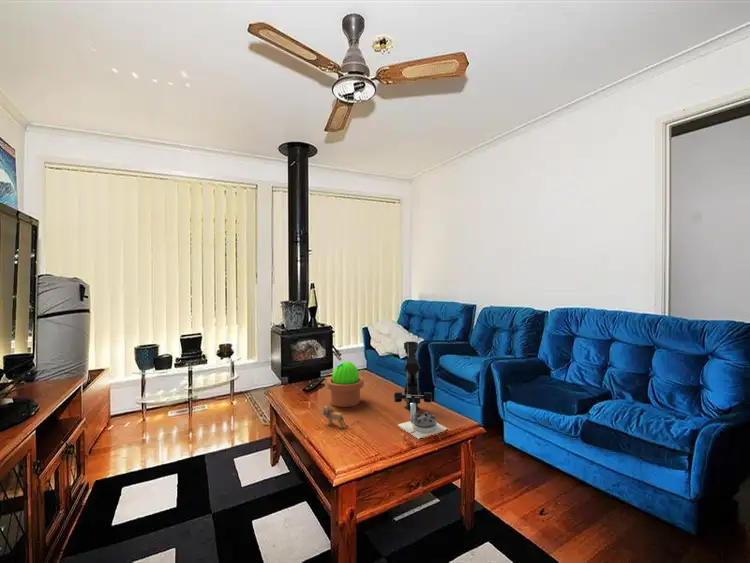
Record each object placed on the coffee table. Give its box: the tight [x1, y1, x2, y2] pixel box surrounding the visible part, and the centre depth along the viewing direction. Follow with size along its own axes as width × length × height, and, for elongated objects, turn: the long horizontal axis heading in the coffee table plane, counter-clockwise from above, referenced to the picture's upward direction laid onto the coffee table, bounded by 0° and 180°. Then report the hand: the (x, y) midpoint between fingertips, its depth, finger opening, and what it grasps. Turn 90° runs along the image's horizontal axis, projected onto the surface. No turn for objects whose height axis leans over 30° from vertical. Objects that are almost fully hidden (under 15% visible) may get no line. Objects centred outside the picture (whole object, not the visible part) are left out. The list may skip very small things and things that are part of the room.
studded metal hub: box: [409, 402, 437, 428], centre depth 173 cm, size 15×11×12 cm
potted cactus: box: [326, 361, 365, 408], centre depth 212 cm, size 22×22×25 cm
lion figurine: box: [321, 405, 349, 429], centre depth 180 cm, size 15×5×9 cm, turn 68°
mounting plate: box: [397, 420, 448, 440], centre depth 175 cm, size 17×18×3 cm
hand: (413, 414), depth 170 cm, fingers closed, pressing on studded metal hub
